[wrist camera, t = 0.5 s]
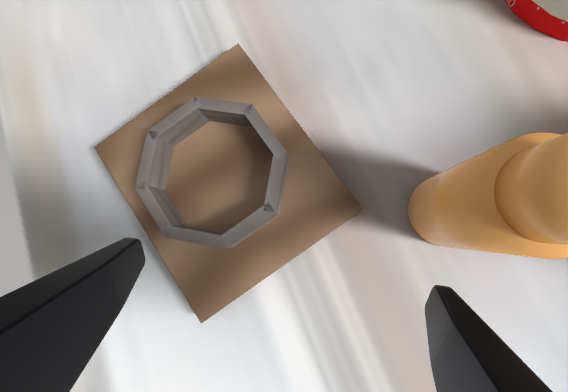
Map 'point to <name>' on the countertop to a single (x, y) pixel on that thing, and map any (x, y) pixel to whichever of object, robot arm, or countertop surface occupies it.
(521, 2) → the kitchen timer
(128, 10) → the countertop surface
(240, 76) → the peg board base
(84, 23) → the countertop surface
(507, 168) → the wooden peg doll
